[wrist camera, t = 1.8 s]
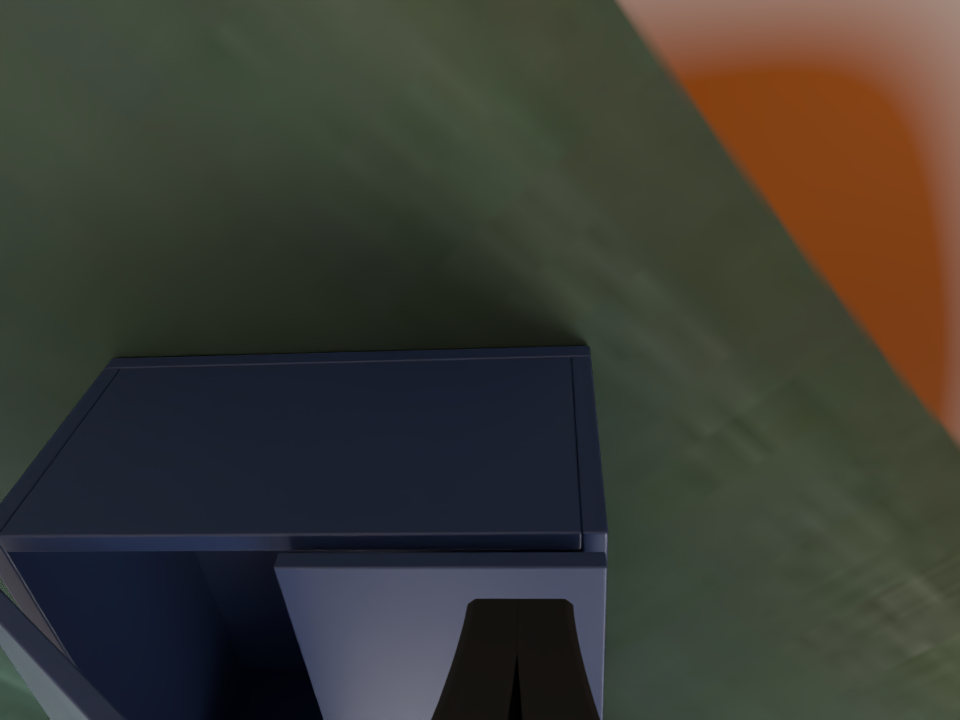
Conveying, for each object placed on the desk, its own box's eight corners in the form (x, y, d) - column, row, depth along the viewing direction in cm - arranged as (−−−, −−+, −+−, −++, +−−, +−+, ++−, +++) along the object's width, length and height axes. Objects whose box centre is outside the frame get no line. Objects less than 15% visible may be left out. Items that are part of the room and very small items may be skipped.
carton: (587, 668, 28) (600, 896, 23) (237, 664, 30) (161, 881, 24) (589, 344, 21) (611, 565, 15) (111, 357, 22) (-51, 566, 16)
